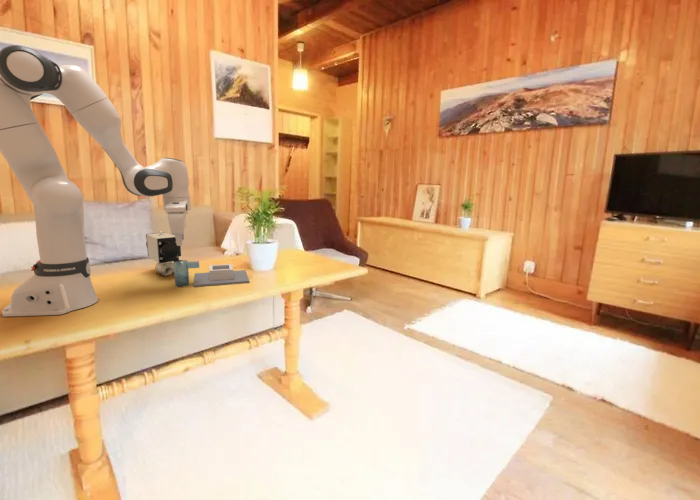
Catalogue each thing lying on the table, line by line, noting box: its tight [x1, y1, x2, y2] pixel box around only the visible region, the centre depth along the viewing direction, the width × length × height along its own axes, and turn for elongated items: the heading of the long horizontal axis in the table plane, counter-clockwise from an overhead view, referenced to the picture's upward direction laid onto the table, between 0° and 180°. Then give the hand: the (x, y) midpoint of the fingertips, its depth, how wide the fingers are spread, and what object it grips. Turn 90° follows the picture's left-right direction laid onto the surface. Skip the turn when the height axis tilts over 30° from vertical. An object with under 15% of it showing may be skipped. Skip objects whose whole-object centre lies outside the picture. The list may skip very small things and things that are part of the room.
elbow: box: [173, 259, 200, 288], centre depth 133 cm, size 9×5×9 cm, turn 112°
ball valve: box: [145, 230, 182, 277], centre depth 144 cm, size 18×8×18 cm, turn 46°
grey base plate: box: [192, 263, 250, 288], centre depth 141 cm, size 20×16×5 cm
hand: (180, 242), depth 130 cm, fingers open, 8 cm apart
